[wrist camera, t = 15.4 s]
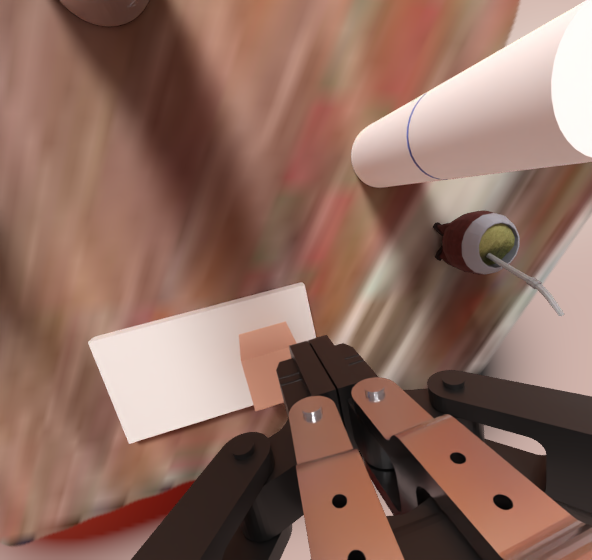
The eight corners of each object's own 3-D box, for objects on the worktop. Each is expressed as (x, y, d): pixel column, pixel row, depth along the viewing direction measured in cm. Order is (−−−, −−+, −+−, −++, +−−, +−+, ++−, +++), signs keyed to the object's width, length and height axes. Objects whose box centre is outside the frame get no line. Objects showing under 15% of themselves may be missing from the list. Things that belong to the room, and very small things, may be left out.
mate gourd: (448, 199, 42) (563, 195, 28) (489, 235, 44) (615, 249, 30) (413, 248, 43) (507, 270, 28) (455, 282, 45) (562, 318, 30)
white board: (132, 435, 41) (129, 443, 39) (93, 337, 37) (87, 342, 36) (322, 376, 44) (326, 382, 42) (301, 282, 41) (304, 284, 39)
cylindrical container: (338, 159, 38) (521, 81, 15) (378, 108, 38) (632, -58, 14) (382, 200, 40) (606, 191, 17) (420, 152, 40) (705, 71, 16)
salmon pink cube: (250, 377, 40) (255, 411, 34) (238, 334, 39) (241, 361, 32) (296, 363, 41) (309, 394, 34) (285, 321, 40) (297, 344, 33)
